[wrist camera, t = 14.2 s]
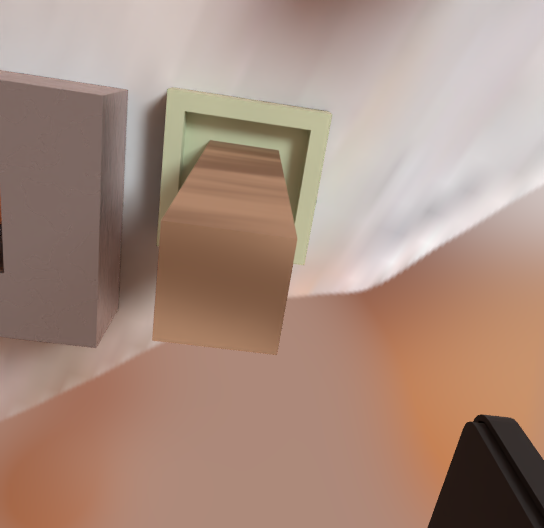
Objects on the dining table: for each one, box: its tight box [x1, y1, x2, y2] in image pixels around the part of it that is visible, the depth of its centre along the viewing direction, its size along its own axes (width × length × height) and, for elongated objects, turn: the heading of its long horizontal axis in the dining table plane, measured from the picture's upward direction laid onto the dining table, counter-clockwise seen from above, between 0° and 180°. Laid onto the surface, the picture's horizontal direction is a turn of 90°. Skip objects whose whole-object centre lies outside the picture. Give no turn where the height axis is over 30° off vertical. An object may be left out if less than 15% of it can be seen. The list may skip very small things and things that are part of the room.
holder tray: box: [156, 87, 332, 265], centre depth 30 cm, size 9×9×2 cm
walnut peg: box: [152, 140, 297, 355], centre depth 23 cm, size 4×4×16 cm
